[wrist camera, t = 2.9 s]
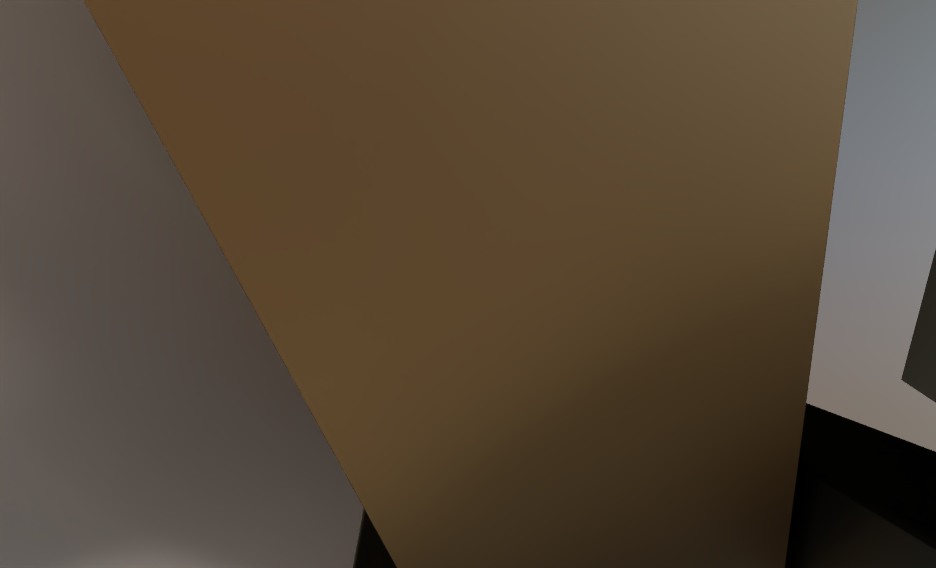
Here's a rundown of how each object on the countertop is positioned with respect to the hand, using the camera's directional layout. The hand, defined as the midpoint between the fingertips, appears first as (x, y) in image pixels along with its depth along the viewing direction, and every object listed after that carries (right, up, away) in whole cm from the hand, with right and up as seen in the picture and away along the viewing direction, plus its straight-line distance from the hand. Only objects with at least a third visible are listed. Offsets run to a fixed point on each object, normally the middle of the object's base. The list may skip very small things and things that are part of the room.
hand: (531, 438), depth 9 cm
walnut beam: (0, +1, +1) cm, 1 cm away
